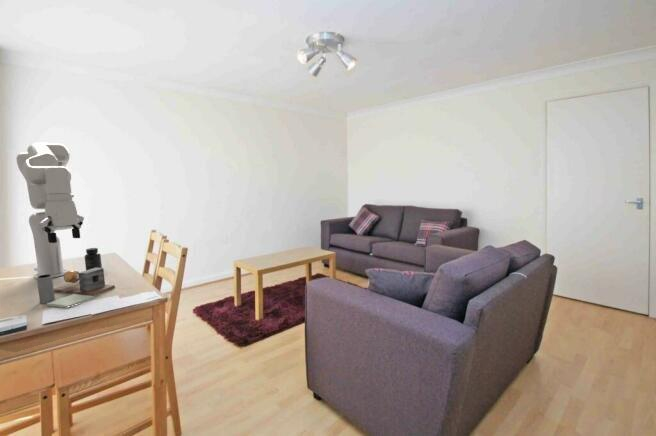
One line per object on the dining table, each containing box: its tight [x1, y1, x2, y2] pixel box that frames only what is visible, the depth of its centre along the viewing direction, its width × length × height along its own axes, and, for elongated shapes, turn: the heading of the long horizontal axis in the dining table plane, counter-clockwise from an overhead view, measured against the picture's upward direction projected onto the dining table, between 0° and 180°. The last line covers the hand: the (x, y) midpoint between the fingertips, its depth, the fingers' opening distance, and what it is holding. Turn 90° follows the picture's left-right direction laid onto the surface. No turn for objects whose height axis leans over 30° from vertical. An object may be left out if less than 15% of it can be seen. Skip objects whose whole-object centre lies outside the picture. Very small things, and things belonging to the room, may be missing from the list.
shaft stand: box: [53, 267, 116, 297], centre depth 141 cm, size 22×10×9 cm, turn 76°
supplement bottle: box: [83, 247, 103, 271], centre depth 168 cm, size 7×7×12 cm
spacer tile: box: [46, 294, 94, 308], centre depth 128 cm, size 10×10×1 cm
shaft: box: [63, 270, 93, 284], centre depth 142 cm, size 12×5×5 cm, turn 76°
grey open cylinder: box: [36, 274, 56, 304], centre depth 129 cm, size 4×4×10 cm
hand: (65, 240), depth 132 cm, fingers open, 9 cm apart
